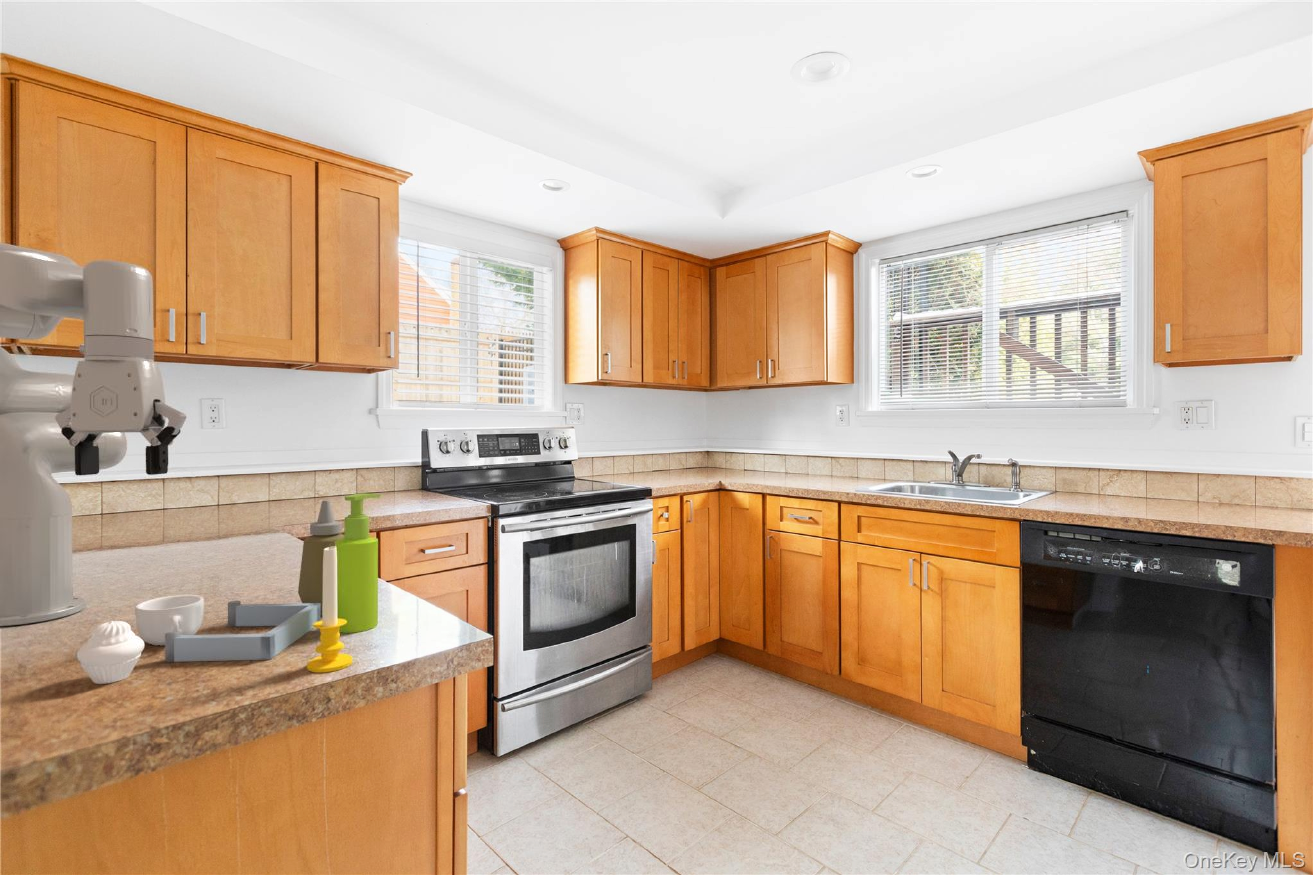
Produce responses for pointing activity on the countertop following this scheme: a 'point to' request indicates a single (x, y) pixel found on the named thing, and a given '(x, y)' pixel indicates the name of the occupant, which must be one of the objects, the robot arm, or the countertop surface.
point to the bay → (288, 629)
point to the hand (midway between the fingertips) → (122, 474)
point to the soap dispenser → (357, 570)
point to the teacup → (169, 617)
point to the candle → (329, 621)
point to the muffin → (110, 652)
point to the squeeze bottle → (317, 554)
